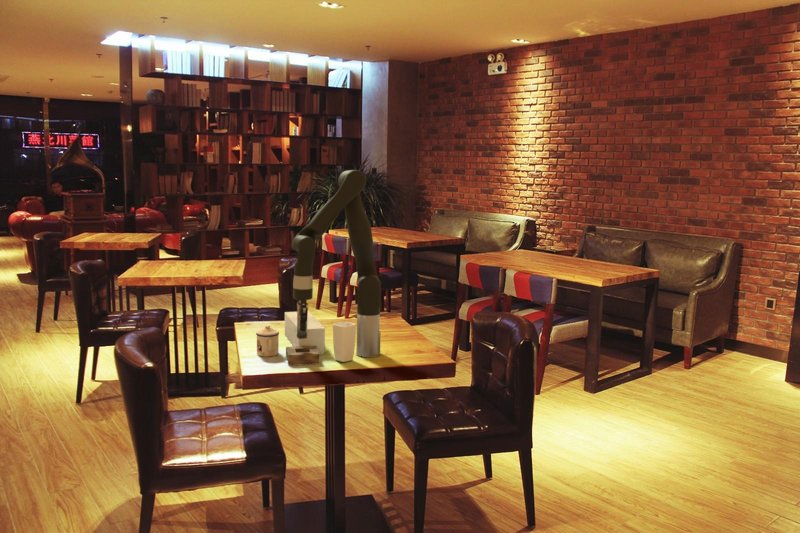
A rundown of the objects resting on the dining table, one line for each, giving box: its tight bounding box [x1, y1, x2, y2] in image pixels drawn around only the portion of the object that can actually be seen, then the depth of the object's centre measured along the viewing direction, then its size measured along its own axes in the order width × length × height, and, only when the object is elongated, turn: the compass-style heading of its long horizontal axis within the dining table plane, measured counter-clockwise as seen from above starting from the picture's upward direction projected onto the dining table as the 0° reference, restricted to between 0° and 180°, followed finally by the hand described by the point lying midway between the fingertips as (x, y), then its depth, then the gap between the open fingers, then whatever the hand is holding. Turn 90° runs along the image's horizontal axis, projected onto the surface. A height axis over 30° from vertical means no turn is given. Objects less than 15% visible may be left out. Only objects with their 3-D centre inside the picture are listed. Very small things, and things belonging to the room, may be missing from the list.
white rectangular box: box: [284, 310, 326, 354], centre depth 299 cm, size 32×11×11 cm, turn 20°
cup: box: [332, 321, 357, 363], centre depth 276 cm, size 7×7×15 cm
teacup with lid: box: [255, 324, 280, 357], centre depth 281 cm, size 12×9×12 cm
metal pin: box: [296, 306, 308, 339], centre depth 274 cm, size 4×4×12 cm
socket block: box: [285, 346, 321, 366], centre depth 276 cm, size 12×12×4 cm
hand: (302, 329), depth 274 cm, fingers closed on metal pin, 4 cm apart
